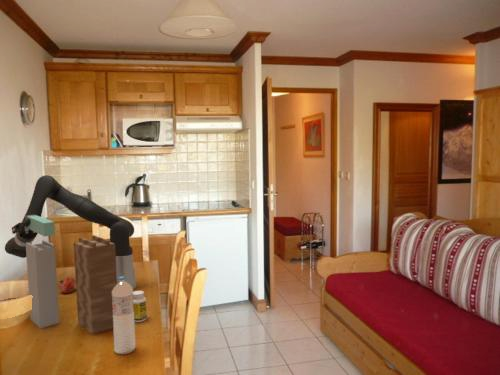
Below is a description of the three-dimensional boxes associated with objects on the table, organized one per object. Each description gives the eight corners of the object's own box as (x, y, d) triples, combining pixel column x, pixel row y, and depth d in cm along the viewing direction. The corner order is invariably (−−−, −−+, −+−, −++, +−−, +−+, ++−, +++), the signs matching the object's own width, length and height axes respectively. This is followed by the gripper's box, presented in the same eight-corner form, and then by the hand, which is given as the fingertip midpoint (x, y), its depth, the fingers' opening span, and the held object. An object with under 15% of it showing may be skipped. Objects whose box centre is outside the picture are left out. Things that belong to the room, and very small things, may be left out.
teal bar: (26, 227, 170) (25, 215, 169) (35, 226, 172) (34, 214, 172) (44, 236, 152) (43, 223, 152) (54, 235, 155) (54, 221, 154)
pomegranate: (71, 293, 202) (53, 284, 197) (80, 280, 204) (62, 271, 198) (74, 299, 196) (55, 290, 191) (83, 286, 197) (65, 277, 192)
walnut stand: (78, 323, 160) (73, 238, 157) (103, 316, 167) (99, 234, 164) (93, 334, 150) (88, 244, 147) (119, 326, 157) (114, 239, 154)
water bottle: (117, 345, 141) (113, 274, 139) (137, 344, 141) (134, 273, 139) (112, 355, 134) (108, 280, 132) (133, 354, 135) (130, 279, 132)
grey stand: (30, 319, 165) (25, 242, 162) (49, 314, 170) (44, 240, 167) (40, 328, 156) (35, 247, 154) (59, 323, 161) (54, 244, 158)
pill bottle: (142, 323, 159) (141, 295, 158) (127, 322, 160) (126, 294, 159) (149, 317, 165) (148, 290, 164) (135, 316, 166) (134, 289, 166)
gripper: (5, 229, 174) (13, 213, 162) (41, 224, 183) (51, 209, 172) (8, 246, 172) (17, 230, 160) (45, 240, 181) (55, 225, 170)
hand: (35, 219), depth 166 cm, fingers closed on teal bar, 3 cm apart
